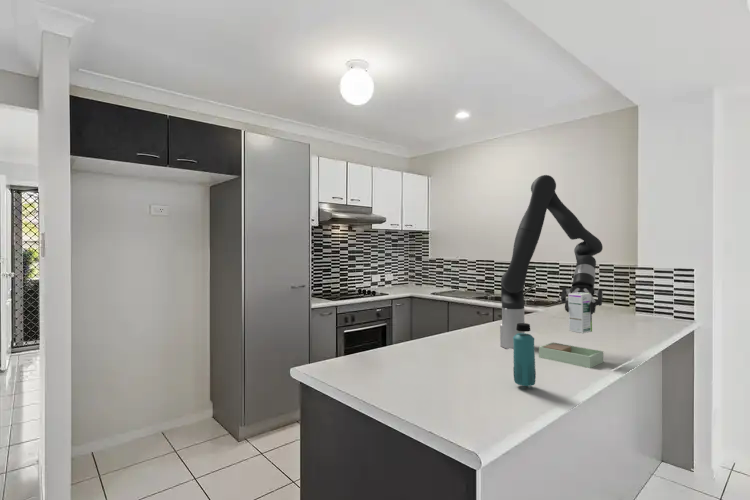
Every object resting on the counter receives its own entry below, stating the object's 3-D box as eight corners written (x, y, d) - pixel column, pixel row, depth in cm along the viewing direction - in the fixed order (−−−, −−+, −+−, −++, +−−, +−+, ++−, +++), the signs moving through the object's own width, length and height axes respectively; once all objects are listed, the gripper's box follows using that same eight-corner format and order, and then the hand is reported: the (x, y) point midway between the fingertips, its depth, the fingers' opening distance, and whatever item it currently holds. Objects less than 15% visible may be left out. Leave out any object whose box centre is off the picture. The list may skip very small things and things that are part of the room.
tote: (538, 358, 160) (538, 347, 160) (553, 353, 167) (553, 342, 167) (590, 369, 145) (589, 356, 145) (603, 363, 152) (603, 351, 152)
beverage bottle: (539, 391, 125) (538, 325, 124) (517, 391, 125) (516, 325, 125) (531, 383, 131) (530, 321, 131) (510, 384, 131) (509, 321, 131)
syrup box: (582, 333, 149) (582, 294, 149) (568, 331, 154) (568, 292, 154) (592, 332, 152) (592, 293, 152) (577, 329, 157) (577, 291, 157)
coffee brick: (543, 357, 160) (543, 346, 160) (553, 353, 165) (553, 343, 165) (561, 360, 154) (561, 350, 154) (571, 356, 160) (571, 346, 159)
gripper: (563, 271, 163) (557, 304, 154) (604, 272, 155) (600, 307, 146) (565, 283, 168) (560, 316, 158) (605, 285, 159) (602, 319, 150)
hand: (579, 311), depth 152 cm, fingers closed on syrup box, 7 cm apart
